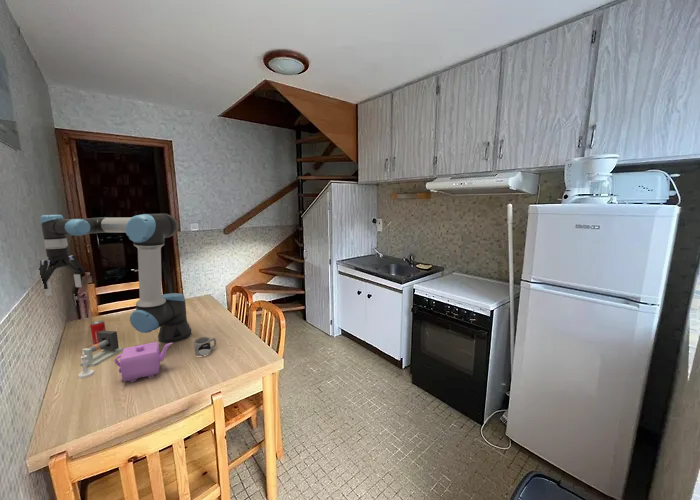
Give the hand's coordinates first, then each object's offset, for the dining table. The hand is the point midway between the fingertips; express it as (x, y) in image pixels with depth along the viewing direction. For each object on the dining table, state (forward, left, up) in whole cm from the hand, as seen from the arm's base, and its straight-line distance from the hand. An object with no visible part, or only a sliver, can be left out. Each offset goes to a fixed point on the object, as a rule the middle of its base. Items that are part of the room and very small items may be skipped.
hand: (64, 291), depth 141 cm
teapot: (-57, +19, -27) cm, 66 cm away
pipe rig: (-27, +10, -27) cm, 39 cm away
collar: (-27, +6, -25) cm, 37 cm away
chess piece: (-33, +23, -27) cm, 48 cm away
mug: (-71, -1, -27) cm, 76 cm away
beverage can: (-16, 0, -27) cm, 31 cm away
